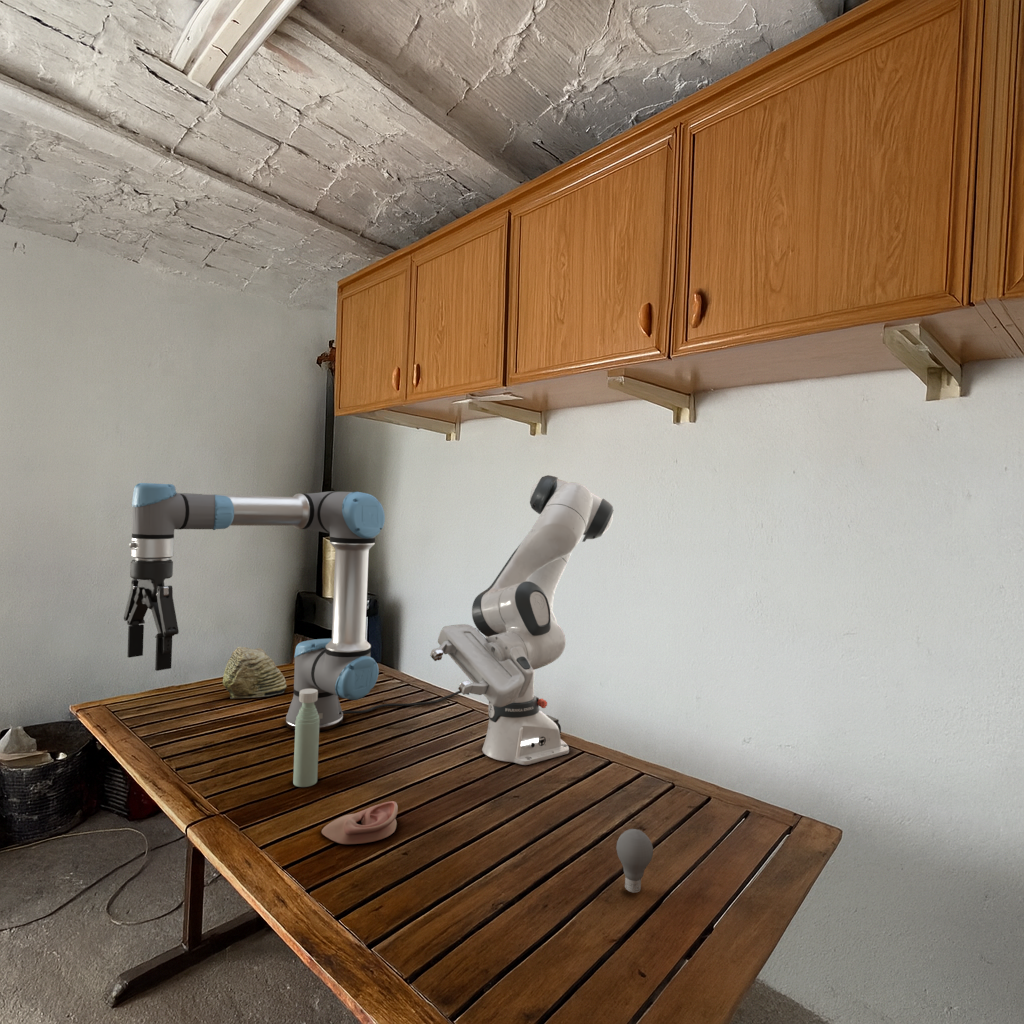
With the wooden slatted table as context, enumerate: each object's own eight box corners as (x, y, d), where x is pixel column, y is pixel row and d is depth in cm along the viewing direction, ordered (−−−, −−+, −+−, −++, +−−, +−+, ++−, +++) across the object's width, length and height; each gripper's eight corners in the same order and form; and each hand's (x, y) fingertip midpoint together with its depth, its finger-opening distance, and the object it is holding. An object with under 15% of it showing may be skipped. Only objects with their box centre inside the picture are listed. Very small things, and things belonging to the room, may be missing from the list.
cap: (303, 697, 142) (303, 687, 142) (320, 698, 142) (320, 689, 142) (296, 702, 138) (296, 693, 138) (313, 703, 138) (313, 694, 138)
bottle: (299, 776, 143) (302, 688, 143) (320, 778, 143) (324, 690, 142) (289, 786, 138) (292, 695, 138) (311, 788, 138) (315, 697, 137)
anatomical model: (313, 818, 117) (342, 790, 128) (313, 839, 117) (341, 810, 128) (381, 829, 114) (404, 800, 125) (380, 850, 114) (403, 819, 125)
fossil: (218, 695, 195) (220, 647, 195) (278, 685, 208) (279, 640, 207) (228, 703, 189) (230, 653, 188) (289, 692, 201) (290, 645, 201)
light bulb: (610, 879, 108) (613, 822, 108) (644, 879, 109) (647, 822, 109) (619, 902, 102) (622, 840, 102) (655, 901, 103) (658, 840, 103)
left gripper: (108, 554, 134) (104, 654, 134) (159, 565, 118) (155, 678, 119) (146, 552, 140) (143, 648, 140) (199, 563, 124) (195, 671, 124)
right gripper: (475, 612, 131) (421, 623, 122) (539, 677, 119) (484, 695, 109) (467, 636, 134) (412, 649, 124) (528, 702, 121) (473, 722, 112)
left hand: (148, 662), depth 129 cm, fingers open, 13 cm apart
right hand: (446, 671), depth 117 cm, fingers open, 8 cm apart
